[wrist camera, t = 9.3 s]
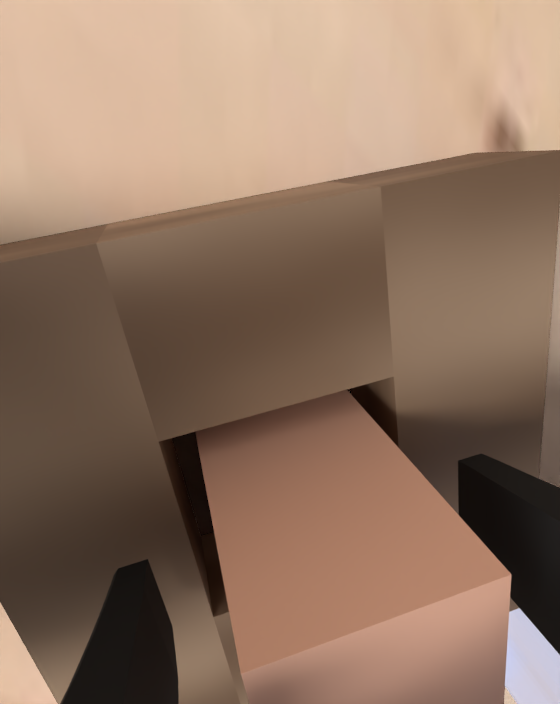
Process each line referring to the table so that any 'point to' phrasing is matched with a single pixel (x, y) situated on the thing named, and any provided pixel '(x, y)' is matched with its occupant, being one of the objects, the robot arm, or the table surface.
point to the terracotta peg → (349, 565)
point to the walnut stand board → (254, 371)
